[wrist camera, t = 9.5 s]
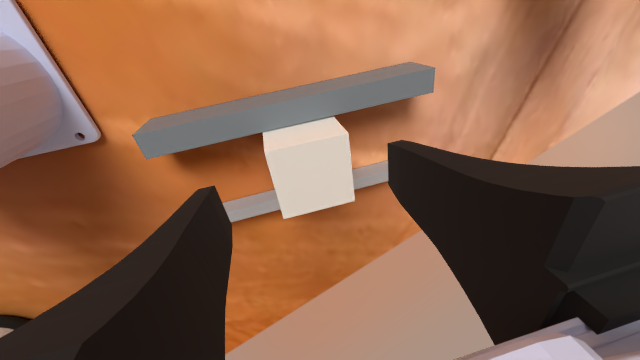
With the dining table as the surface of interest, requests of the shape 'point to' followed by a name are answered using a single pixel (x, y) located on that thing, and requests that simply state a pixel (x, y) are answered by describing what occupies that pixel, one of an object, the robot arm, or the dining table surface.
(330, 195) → the cabinet block
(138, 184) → the dining table surface
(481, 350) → the robot arm
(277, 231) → the dining table surface
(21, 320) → the wine bottle
